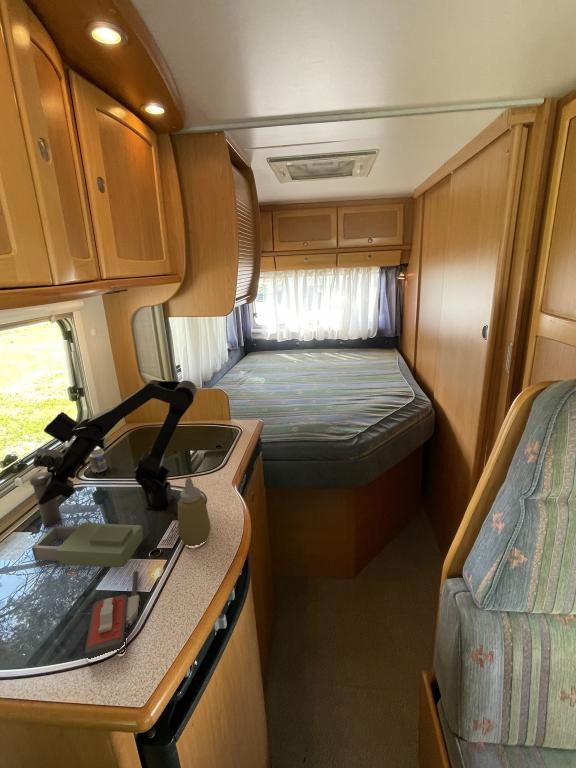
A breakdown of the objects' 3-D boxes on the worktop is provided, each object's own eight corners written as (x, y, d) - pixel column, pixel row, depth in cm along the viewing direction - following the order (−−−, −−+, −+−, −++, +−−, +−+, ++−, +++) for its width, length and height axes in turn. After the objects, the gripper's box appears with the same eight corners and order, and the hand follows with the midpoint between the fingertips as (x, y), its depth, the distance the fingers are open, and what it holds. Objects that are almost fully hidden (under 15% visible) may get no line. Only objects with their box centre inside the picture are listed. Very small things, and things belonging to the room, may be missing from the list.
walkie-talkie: (138, 656, 69) (141, 575, 87) (134, 637, 67) (139, 559, 86) (84, 673, 66) (99, 585, 84) (79, 654, 65) (96, 569, 83)
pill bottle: (101, 473, 130) (96, 451, 128) (89, 472, 131) (84, 450, 128) (110, 466, 134) (106, 445, 132) (98, 465, 135) (94, 444, 133)
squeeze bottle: (192, 557, 91) (183, 492, 86) (173, 542, 96) (164, 480, 91) (218, 539, 97) (212, 477, 92) (199, 526, 102) (192, 466, 97)
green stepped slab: (143, 538, 98) (140, 521, 96) (123, 567, 89) (120, 549, 87) (59, 534, 101) (55, 517, 99) (31, 562, 91) (26, 544, 89)
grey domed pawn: (67, 515, 108) (56, 472, 104) (54, 527, 103) (43, 482, 99) (50, 515, 109) (39, 471, 104) (37, 527, 104) (24, 482, 99)
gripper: (51, 426, 108) (13, 471, 106) (48, 452, 93) (4, 505, 91) (87, 444, 114) (52, 487, 112) (90, 472, 99) (50, 522, 97)
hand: (40, 499), depth 103 cm, fingers closed on grey domed pawn, 4 cm apart
